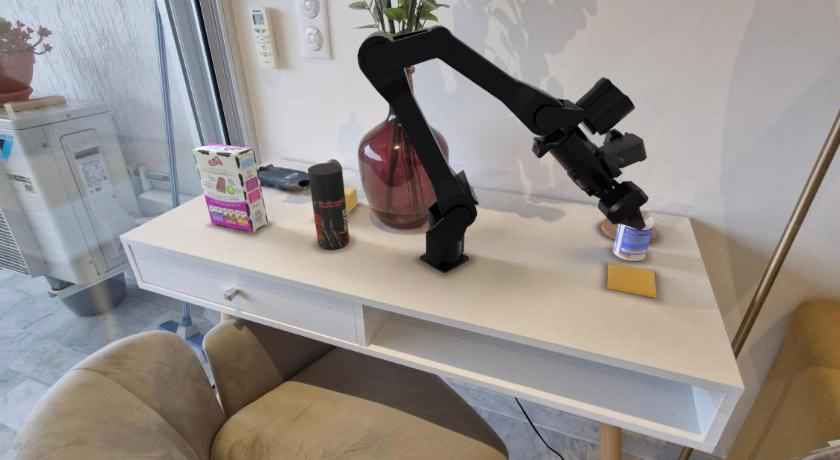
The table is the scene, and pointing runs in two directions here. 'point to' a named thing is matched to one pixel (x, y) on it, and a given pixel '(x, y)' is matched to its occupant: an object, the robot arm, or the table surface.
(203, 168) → the candy bar box
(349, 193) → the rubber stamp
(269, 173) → the electronic device
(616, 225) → the cork trivet
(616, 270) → the mustard cloth
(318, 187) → the deodorant
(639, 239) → the pill bottle
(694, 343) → the table surface
